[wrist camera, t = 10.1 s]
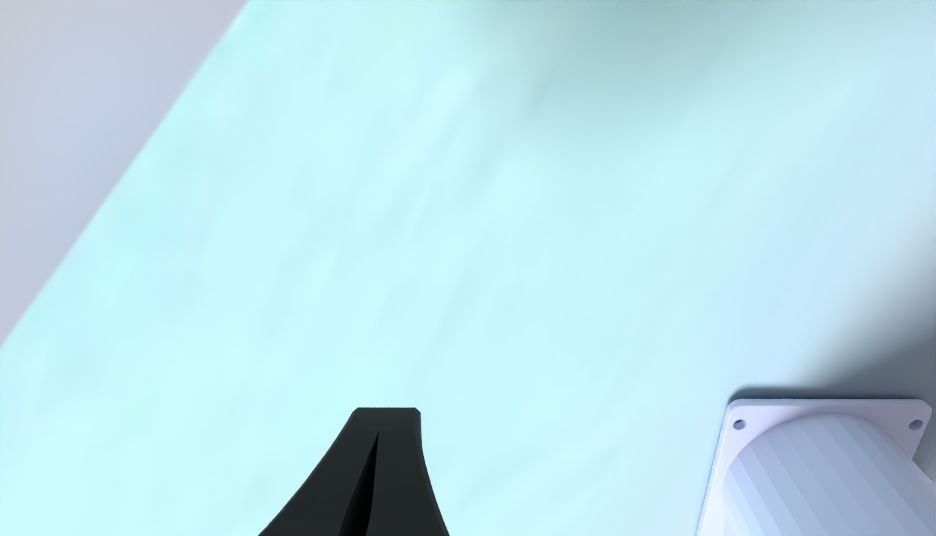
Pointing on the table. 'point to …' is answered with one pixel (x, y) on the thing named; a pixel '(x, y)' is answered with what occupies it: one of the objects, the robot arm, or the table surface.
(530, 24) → the table surface
